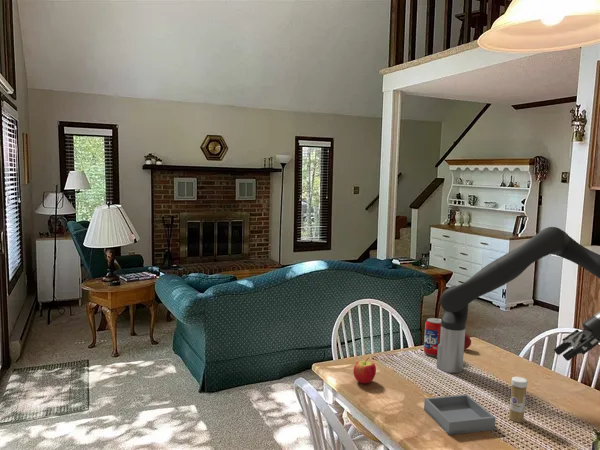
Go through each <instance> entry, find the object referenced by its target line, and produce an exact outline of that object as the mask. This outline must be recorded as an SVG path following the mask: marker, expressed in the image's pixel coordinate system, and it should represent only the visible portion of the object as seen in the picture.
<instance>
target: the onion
mask: <svg viewBox="0 0 600 450" xmlns="http://www.w3.org/2000/svg"><path fill="white" fill-rule="evenodd" d="M471 345H472V340H471V338H470V336H469V335H468V334H467V332H466V331H465V341H464V351H466V350H467V349H468V348H470V346H471Z"/></svg>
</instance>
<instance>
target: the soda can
mask: <svg viewBox="0 0 600 450" xmlns="http://www.w3.org/2000/svg"><path fill="white" fill-rule="evenodd" d="M441 319H442V318H436V317H430V318H427V319H426V321H425V322H424V323H425V325H424V340H423V352H424V353H425V354H426V355H428V356H430V357H437V351H438V344H440V334H441Z"/></svg>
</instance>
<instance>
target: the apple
mask: <svg viewBox="0 0 600 450" xmlns="http://www.w3.org/2000/svg"><path fill="white" fill-rule="evenodd" d="M369 359H370V357H368V358H367V359H365V360H364V359H363V360H358V361H357V362H355V363H354V366H353V376H354V378H355V380H356V381H357V382H358V383H360V384H370V383H372V382H373V380H375V379H374V378H375V377H376V374H377V373H376V372H377V368H376V364H375V363H374V362H373V361H369Z"/></svg>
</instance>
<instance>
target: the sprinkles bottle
mask: <svg viewBox="0 0 600 450" xmlns="http://www.w3.org/2000/svg"><path fill="white" fill-rule="evenodd" d="M510 383H511V390H510V399H509V413H508V418H509V419H510V421H513V422H515V423H522V422H524V421H525V408H526V398H527V395H526V394H527V388H528V380H527V378H525V377H521V376H512V377H511V382H510Z"/></svg>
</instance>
